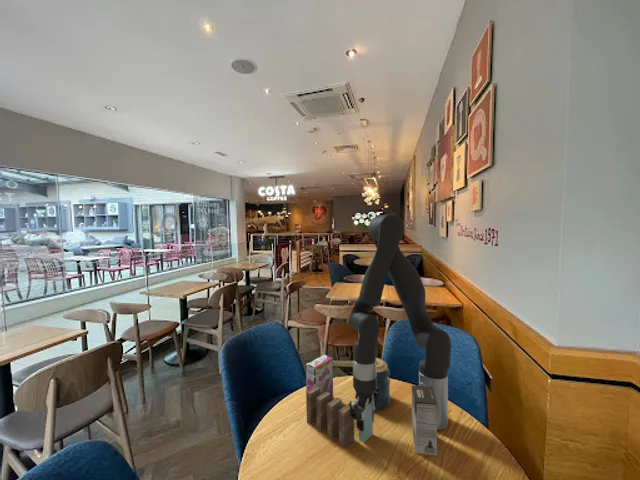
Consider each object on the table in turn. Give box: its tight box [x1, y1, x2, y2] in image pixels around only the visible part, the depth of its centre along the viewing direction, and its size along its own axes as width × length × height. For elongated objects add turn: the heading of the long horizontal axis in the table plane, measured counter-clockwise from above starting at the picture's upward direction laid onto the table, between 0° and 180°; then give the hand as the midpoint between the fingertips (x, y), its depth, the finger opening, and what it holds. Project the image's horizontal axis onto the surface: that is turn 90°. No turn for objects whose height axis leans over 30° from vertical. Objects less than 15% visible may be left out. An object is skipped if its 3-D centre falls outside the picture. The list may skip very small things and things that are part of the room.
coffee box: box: [411, 384, 438, 457], centre depth 86 cm, size 9×6×16 cm
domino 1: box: [305, 386, 320, 426], centre depth 97 cm, size 2×5×11 cm, turn 135°
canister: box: [374, 356, 391, 411], centre depth 108 cm, size 13×13×18 cm
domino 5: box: [358, 403, 374, 444], centre depth 89 cm, size 2×5×11 cm, turn 135°
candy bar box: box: [305, 354, 334, 399], centre depth 108 cm, size 11×5×16 cm, turn 139°
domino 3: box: [327, 397, 343, 441], centre depth 90 cm, size 2×5×11 cm, turn 136°
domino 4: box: [338, 403, 355, 449], centre depth 87 cm, size 2×5×11 cm, turn 135°
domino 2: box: [316, 391, 332, 433], centre depth 94 cm, size 2×5×11 cm, turn 135°
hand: (365, 424), depth 89 cm, fingers closed on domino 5, 5 cm apart
